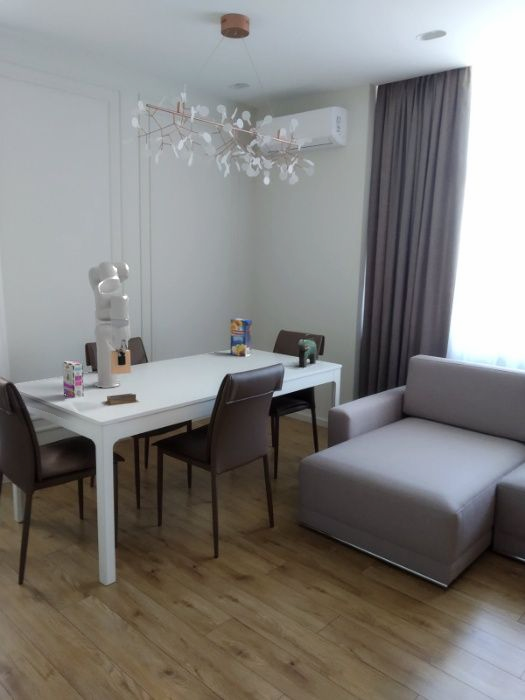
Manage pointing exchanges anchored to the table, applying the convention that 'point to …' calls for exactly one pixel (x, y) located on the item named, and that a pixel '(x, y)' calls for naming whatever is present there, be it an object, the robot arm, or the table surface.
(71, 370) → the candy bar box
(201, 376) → the table surface
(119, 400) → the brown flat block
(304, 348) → the green elephant figurine
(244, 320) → the juice carton
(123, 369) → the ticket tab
